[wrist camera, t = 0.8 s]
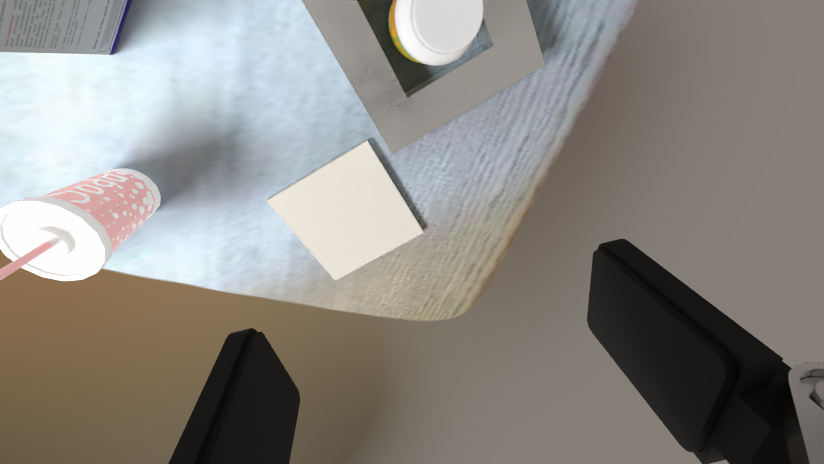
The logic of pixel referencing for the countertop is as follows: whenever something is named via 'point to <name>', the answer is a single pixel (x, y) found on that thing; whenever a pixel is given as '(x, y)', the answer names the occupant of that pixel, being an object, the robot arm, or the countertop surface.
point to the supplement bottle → (434, 28)
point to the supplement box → (62, 25)
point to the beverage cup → (76, 224)
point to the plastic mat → (347, 211)
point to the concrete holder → (441, 93)
